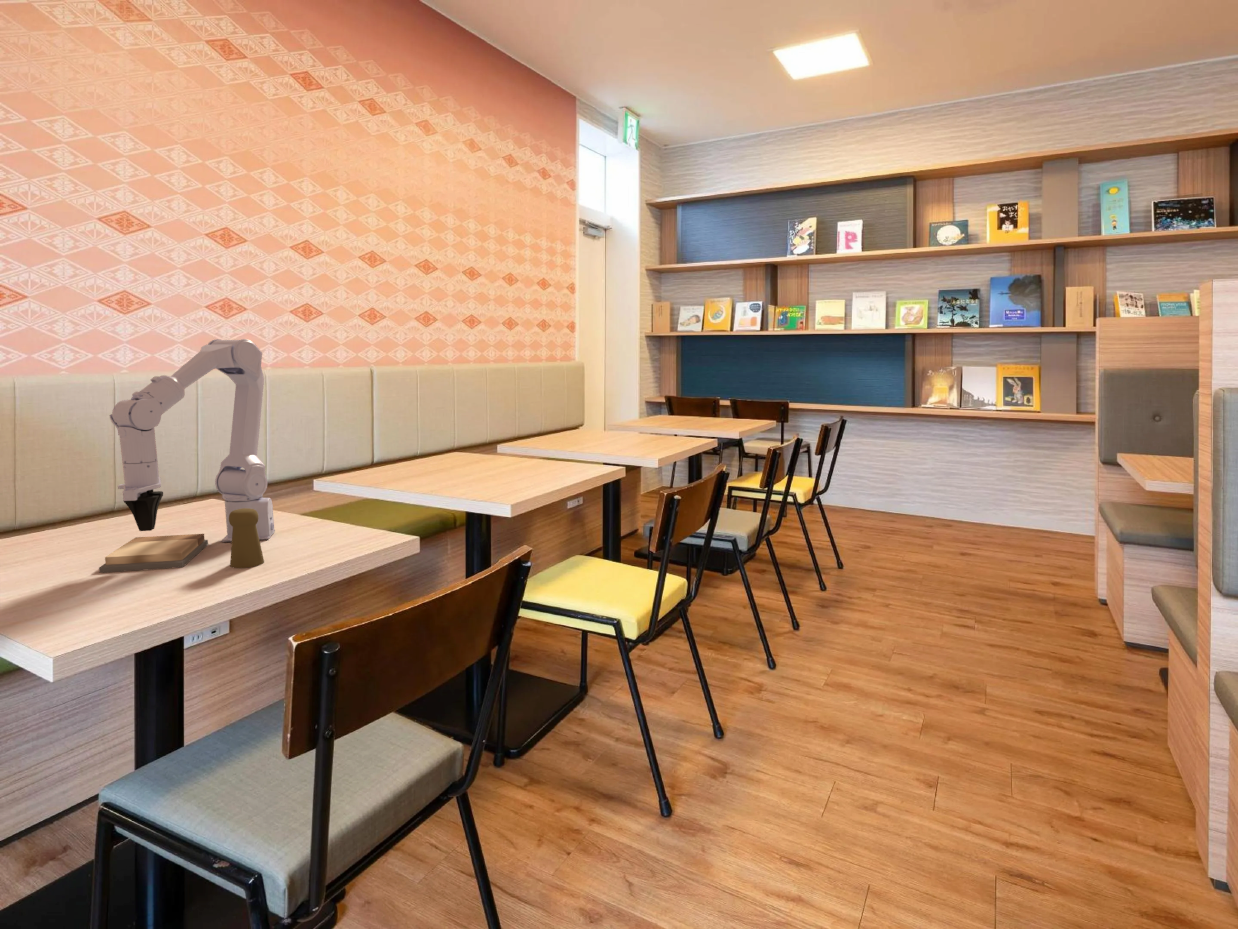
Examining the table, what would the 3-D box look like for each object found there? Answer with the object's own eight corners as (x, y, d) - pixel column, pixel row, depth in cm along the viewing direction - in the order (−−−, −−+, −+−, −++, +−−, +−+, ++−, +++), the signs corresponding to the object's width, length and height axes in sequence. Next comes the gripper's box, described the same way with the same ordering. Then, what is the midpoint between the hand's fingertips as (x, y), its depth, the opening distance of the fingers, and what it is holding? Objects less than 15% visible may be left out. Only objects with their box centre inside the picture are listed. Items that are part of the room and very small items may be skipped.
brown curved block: (204, 540, 157) (204, 533, 157) (198, 545, 153) (198, 538, 152) (136, 544, 153) (135, 537, 153) (128, 549, 149) (127, 542, 149)
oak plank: (198, 545, 152) (197, 538, 152) (182, 560, 142) (181, 552, 142) (127, 549, 149) (126, 542, 149) (105, 564, 138) (104, 557, 138)
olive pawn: (240, 559, 146) (236, 505, 144) (270, 559, 146) (266, 506, 144) (223, 567, 140) (219, 512, 138) (254, 568, 140) (250, 512, 138)
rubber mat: (208, 544, 158) (207, 539, 157) (182, 567, 140) (182, 562, 140) (134, 548, 154) (134, 543, 154) (99, 572, 137) (98, 567, 137)
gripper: (130, 457, 146) (137, 522, 148) (101, 468, 132) (109, 540, 135) (169, 455, 148) (175, 520, 150) (144, 466, 134) (152, 537, 136)
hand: (147, 529), depth 142 cm, fingers closed
